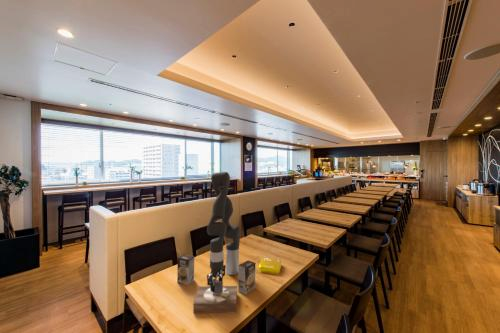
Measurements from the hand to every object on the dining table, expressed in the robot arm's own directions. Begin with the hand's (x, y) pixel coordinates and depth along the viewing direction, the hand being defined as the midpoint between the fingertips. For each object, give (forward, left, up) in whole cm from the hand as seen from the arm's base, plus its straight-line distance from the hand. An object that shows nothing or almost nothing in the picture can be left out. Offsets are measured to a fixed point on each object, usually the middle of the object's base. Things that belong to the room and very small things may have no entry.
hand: (216, 288), depth 116 cm
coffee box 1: (-22, -23, -9) cm, 33 cm away
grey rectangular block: (+1, +1, -3) cm, 3 cm away
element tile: (-38, +35, -9) cm, 52 cm away
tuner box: (0, 0, -8) cm, 8 cm away
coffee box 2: (-12, +17, -9) cm, 23 cm away
